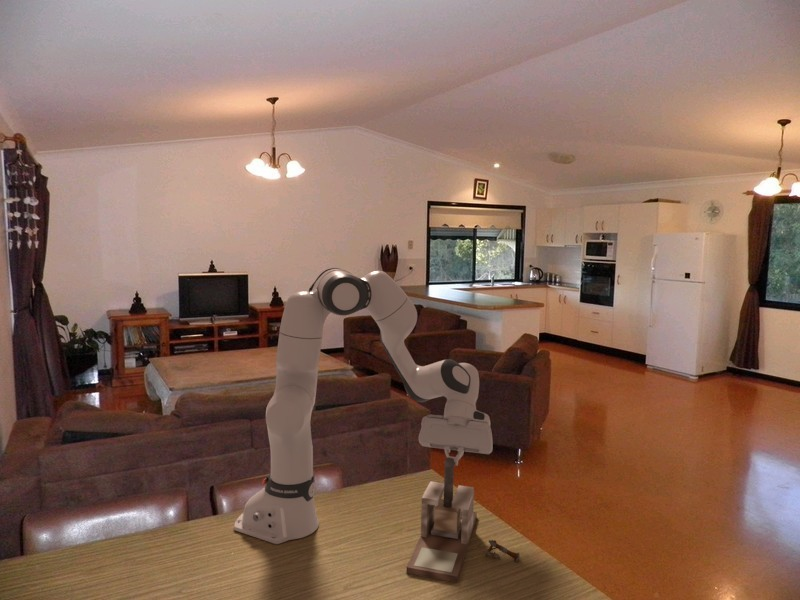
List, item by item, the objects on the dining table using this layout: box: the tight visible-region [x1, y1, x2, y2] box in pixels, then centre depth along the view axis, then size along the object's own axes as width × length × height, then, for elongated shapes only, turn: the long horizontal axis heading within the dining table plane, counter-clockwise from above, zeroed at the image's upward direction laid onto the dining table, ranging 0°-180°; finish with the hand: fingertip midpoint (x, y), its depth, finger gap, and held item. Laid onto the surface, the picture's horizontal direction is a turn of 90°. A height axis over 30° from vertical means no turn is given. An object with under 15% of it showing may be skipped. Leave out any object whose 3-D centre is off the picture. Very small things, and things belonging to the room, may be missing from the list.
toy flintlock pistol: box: [484, 539, 520, 563], centre depth 137 cm, size 2×8×4 cm, turn 80°
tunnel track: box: [405, 480, 478, 584], centre depth 143 cm, size 12×31×12 cm, turn 164°
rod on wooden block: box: [431, 457, 462, 539], centre depth 146 cm, size 7×8×19 cm
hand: (451, 464), depth 149 cm, fingers closed
